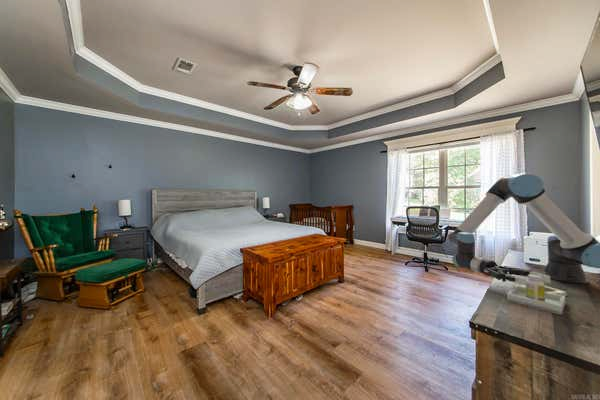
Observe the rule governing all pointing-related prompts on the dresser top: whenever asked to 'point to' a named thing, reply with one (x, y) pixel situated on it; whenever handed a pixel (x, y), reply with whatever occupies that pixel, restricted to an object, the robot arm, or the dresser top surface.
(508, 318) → the dresser top surface
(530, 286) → the supplement bottle
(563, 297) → the tray
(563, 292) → the socket block
